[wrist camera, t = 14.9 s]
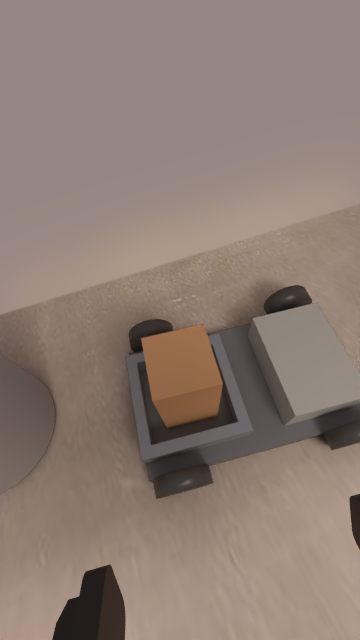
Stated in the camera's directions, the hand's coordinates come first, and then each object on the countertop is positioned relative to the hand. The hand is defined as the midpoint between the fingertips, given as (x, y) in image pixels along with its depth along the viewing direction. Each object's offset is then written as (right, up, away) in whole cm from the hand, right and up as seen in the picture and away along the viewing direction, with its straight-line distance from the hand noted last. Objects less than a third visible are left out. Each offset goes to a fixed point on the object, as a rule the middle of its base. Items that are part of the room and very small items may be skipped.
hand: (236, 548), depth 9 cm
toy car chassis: (+5, 0, +22) cm, 23 cm away
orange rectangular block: (-1, -1, +20) cm, 21 cm away
